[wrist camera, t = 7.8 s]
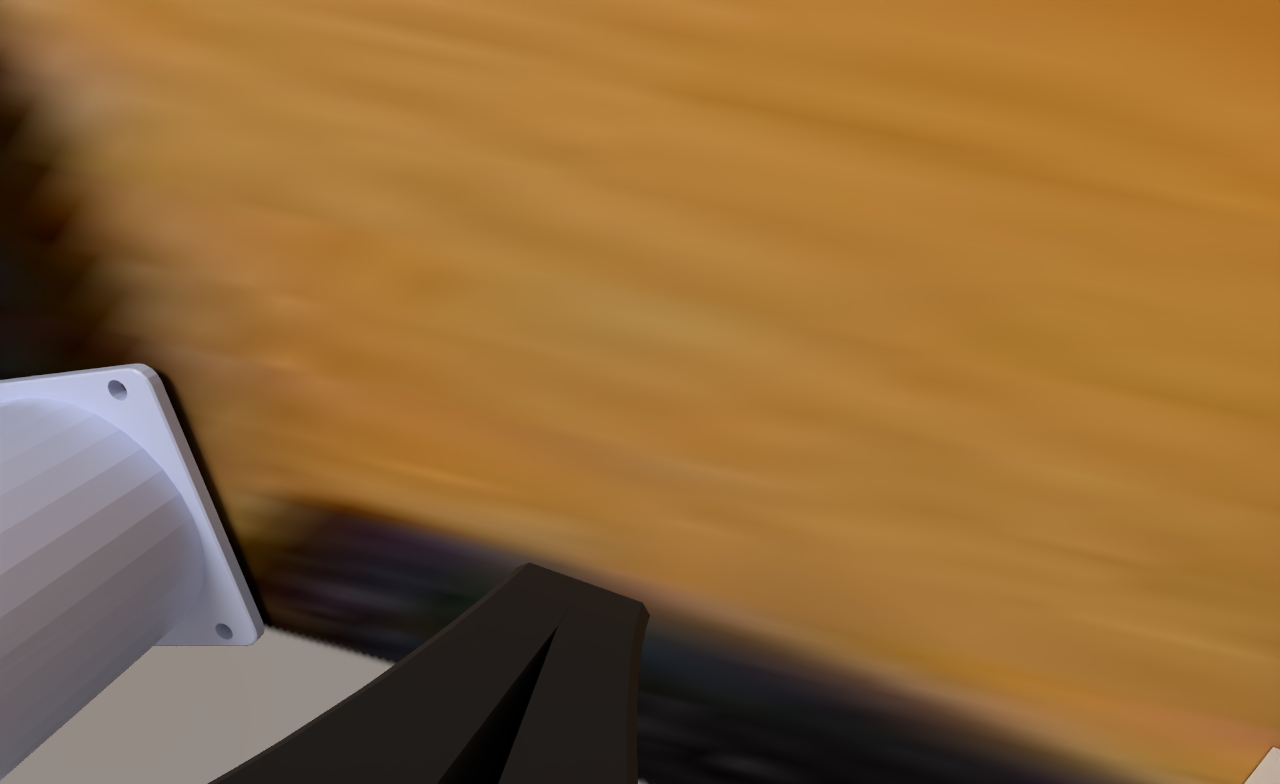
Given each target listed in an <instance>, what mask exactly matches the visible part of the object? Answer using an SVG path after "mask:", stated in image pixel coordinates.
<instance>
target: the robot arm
mask: <svg viewBox="0 0 1280 784" xmlns="http://www.w3.org/2000/svg"><path fill="white" fill-rule="evenodd" d="M121 383H122V384H123V385H124V387H125V388H126V390H127V391H126V390H125V389H124V388H123V386H122V384H121ZM649 617H650V615H649V613H648V611H647V610H646V608H645V606H644V604H643V603H642V602H639V601H637V600H634V599H631V598H628V597H625V596H622V595H620V594H617V593H614V592H611V591H608V590H605V589H603V588H600V587H597V586H594V585H591V584H588V583H586V582H583V581H580V580H577V579H574V578H572V577H569V576H566V575H563V574H560V573H557V572H555V571H552V570H549V569H546V568H543V567H540V566H538V565H535V564H532V563H527V564H525V565H522V566H520V567H517V568H516V569H515V570H514V571H513V572H512V573H510V574H509V575H508V576H507V577H506V578H505V579H504V580H503V581H501V582H500V583H499V584H498V585H497V586H496V587H494V588H493V589H492V590H491V591H490V592H489V593H487V594H486V595H485V596H484V597H483V598H481V599H480V600H479V601H478V602H477V603H475V604H474V605H473V606H472V607H470V608H469V609H468V610H467V611H466V612H464V613H463V614H462V615H460V616H459V617H458V618H457V619H455V620H454V621H453V622H452V623H450V624H449V625H448V626H446V627H445V628H444V629H443V630H441V631H440V632H439V633H437V634H436V635H435V636H434V637H432V638H431V639H429V640H428V641H427V642H425V643H424V644H423V645H421V646H420V647H418V648H417V649H416V650H414V651H413V652H412V653H410V654H409V655H407V656H406V657H405V658H403V659H402V660H401V661H399V662H398V663H396V664H395V665H394V666H392V667H391V668H390V669H388V670H387V671H385V672H384V673H383V674H381V675H380V676H379V677H377V678H376V679H374V680H373V681H371V682H370V683H369V684H367V685H366V686H364V687H363V688H361V689H360V690H358V691H357V692H356V693H354V694H352V695H351V696H349V697H348V698H346V699H345V700H343V701H341V702H340V703H338V704H337V705H335V706H334V707H332V708H331V709H329V710H328V711H326V712H324V713H323V714H321V715H320V716H318V717H317V718H315V719H314V720H312V721H311V722H309V723H308V724H306V725H304V726H303V727H301V728H300V729H298V730H297V731H295V732H294V733H292V734H291V735H289V736H287V737H286V738H284V739H283V740H281V741H279V742H278V743H276V744H275V745H273V746H271V747H270V748H268V749H266V750H265V751H263V752H261V753H260V754H258V755H256V756H255V757H253V758H251V759H250V760H248V761H246V762H244V763H243V764H241V765H239V766H238V767H236V768H234V769H233V770H231V771H229V772H227V773H226V774H224V775H222V776H220V777H219V778H217V779H215V780H213V781H212V782H210V783H208V784H638V772H637V698H638V679H639V668H640V659H641V651H642V645H643V640H644V635H645V630H646V627H647V623H648V620H649ZM263 633H264V625H263V621H262V619H261V616H260V614H259V612H258V609H257V607H256V605H255V602H254V600H253V597H252V595H251V593H250V590H249V588H248V586H247V583H246V581H245V578H244V576H243V574H242V571H241V569H240V566H239V564H238V562H237V559H236V557H235V555H234V552H233V550H232V547H231V545H230V543H229V540H228V538H227V536H226V533H225V531H224V528H223V526H222V524H221V521H220V519H219V517H218V514H217V512H216V509H215V507H214V505H213V502H212V500H211V497H210V495H209V493H208V490H207V488H206V486H205V483H204V481H203V478H202V476H201V474H200V471H199V469H198V467H197V464H196V462H195V459H194V457H193V455H192V452H191V450H190V448H189V445H188V443H187V440H186V438H185V436H184V433H183V431H182V428H181V426H180V424H179V421H178V419H177V417H176V414H175V412H174V409H173V407H172V405H171V402H170V400H169V398H168V395H167V393H166V390H165V388H164V386H163V383H162V381H161V379H160V377H159V376H158V374H157V373H156V372H155V371H154V370H153V369H152V368H150V367H148V366H146V365H144V364H128V365H120V366H112V367H104V368H96V369H88V370H80V371H72V372H63V373H55V374H47V375H39V376H31V377H23V378H15V379H7V380H0V780H1V779H3V778H4V777H5V776H6V775H7V774H8V773H10V772H11V771H12V770H13V769H14V768H15V767H16V766H18V765H19V763H21V762H22V761H23V760H24V759H25V758H26V757H28V756H29V755H30V754H31V753H32V752H33V751H35V750H36V749H37V748H38V747H39V746H40V745H41V744H42V743H44V742H45V741H46V740H47V739H48V738H49V737H50V736H51V735H53V734H54V733H55V732H56V731H57V730H58V729H59V728H61V727H62V726H63V725H64V724H65V723H66V722H67V721H69V720H70V719H71V718H72V717H73V716H74V715H75V714H76V713H77V712H79V711H80V710H81V709H82V708H83V707H84V706H86V705H87V704H88V703H89V702H90V701H91V700H92V699H93V698H95V697H96V696H97V695H98V694H99V693H100V692H101V691H103V690H104V689H105V688H106V687H107V686H108V685H109V684H110V683H112V682H113V681H114V680H115V679H116V678H117V677H118V676H120V675H121V674H122V673H123V672H124V671H125V670H126V669H127V668H129V666H131V665H132V664H133V663H134V662H135V661H137V659H139V658H140V657H141V656H142V655H143V654H144V653H146V652H147V651H148V650H149V649H150V648H151V647H152V646H248V645H253V644H254V643H255V642H256V641H257V640H258V639H259V638H260V637H261V635H263Z"/></svg>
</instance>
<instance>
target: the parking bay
mask: <svg viewBox="0 0 1280 784" xmlns="http://www.w3.org/2000/svg"><path fill="white" fill-rule="evenodd" d="M1244 784H1280V749H1278V748H1275V747H1273V748H1272V749H1271V750H1270V751H1269V753H1268V754H1267V755H1266V757H1265V758H1264V759H1263V760H1262V762H1261V763H1260V764H1259V765H1258V767H1257V768H1256V769H1255V771H1254V772H1253V773H1252V774H1251V776H1250V777H1249V778H1248V779H1247V781H1246V782H1245V783H1244Z"/></svg>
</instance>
